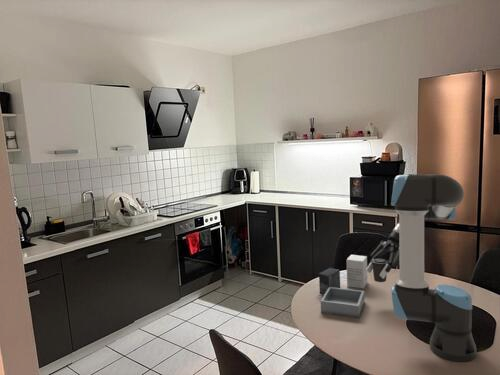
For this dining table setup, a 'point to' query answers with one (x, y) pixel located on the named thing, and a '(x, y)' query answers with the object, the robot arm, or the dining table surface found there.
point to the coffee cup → (379, 269)
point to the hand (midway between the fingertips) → (374, 274)
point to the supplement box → (357, 271)
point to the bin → (342, 302)
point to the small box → (329, 279)
